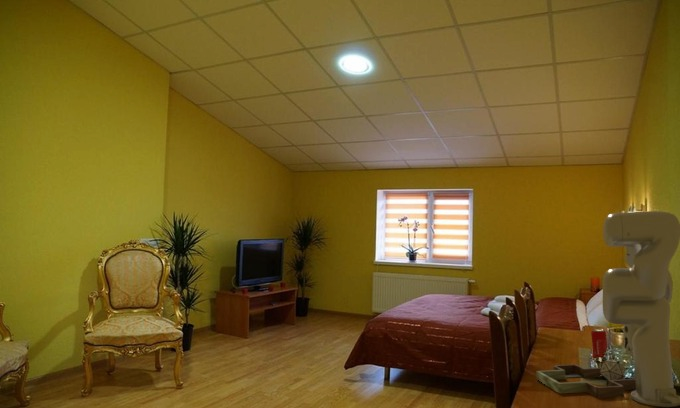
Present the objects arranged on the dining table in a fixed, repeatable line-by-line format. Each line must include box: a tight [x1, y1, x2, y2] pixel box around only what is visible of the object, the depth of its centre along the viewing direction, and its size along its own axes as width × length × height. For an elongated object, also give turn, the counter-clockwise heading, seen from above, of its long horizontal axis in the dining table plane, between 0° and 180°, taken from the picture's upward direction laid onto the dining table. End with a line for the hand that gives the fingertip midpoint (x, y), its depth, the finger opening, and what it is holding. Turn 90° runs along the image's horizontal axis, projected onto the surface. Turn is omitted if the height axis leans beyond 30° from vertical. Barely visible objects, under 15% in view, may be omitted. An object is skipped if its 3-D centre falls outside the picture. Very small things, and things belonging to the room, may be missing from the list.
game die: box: [597, 356, 628, 381], centre depth 157 cm, size 9×8×10 cm
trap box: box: [535, 363, 636, 399], centre depth 156 cm, size 27×30×3 cm
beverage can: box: [590, 328, 608, 359], centre depth 185 cm, size 5×5×12 cm
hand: (643, 371), depth 158 cm, fingers closed
